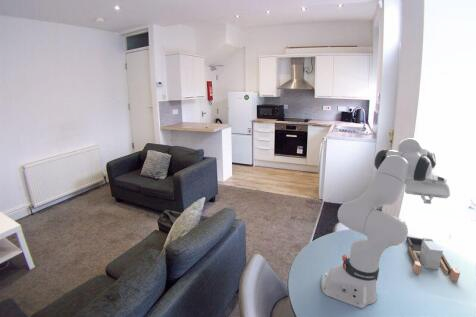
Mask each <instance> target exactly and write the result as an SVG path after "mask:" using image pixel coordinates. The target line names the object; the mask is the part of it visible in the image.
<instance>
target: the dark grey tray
mask: <svg viewBox="0 0 476 317" xmlns="http://www.w3.org/2000/svg"><path fill="white" fill-rule="evenodd" d="M422 240H423V238H420V237H413V236H408V235H407V238H406V239H405V241H406V245H407V246H409V247H411V249H412V250H413V251H419V252H420V248H421V244H422Z"/></svg>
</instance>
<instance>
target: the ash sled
mask: <svg viewBox="0 0 476 317" xmlns="http://www.w3.org/2000/svg"><path fill="white" fill-rule="evenodd" d="M422 239H423V240H422V243H423V241H432V242H434V240H433V239H432V238H426V237H425V238H424V237H422ZM421 247H422V244H421ZM412 251H413V254H414V256H415V258H416V261H418V262H420V259H419V256H420V252H421V248H420V252H419V251H414V250H412ZM439 267H441V269H442V272H443V273H444V274H445V275H448V269H447V267H446V266H445V264H444V262H443V260H442V259H441V261H440V265H439Z"/></svg>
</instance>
